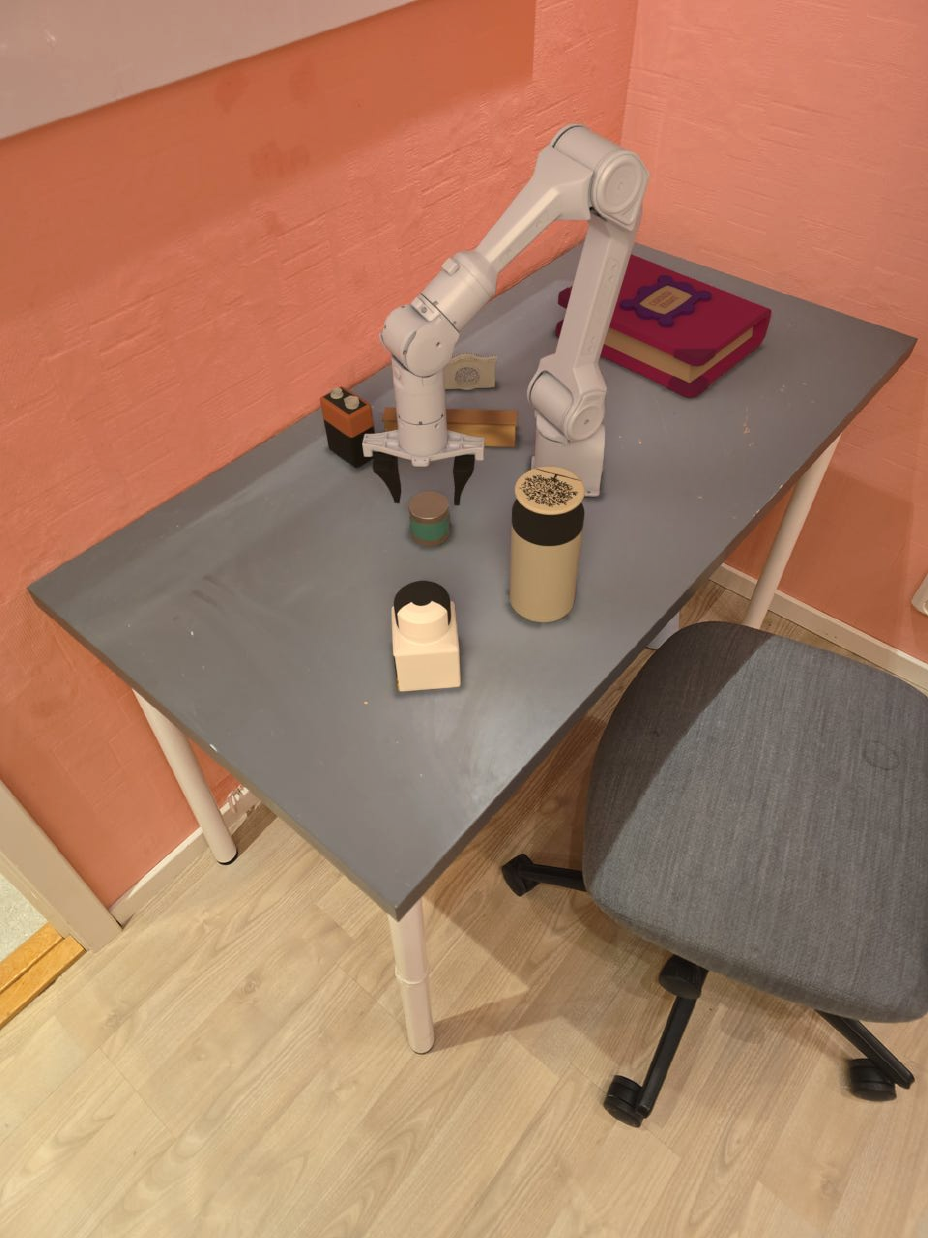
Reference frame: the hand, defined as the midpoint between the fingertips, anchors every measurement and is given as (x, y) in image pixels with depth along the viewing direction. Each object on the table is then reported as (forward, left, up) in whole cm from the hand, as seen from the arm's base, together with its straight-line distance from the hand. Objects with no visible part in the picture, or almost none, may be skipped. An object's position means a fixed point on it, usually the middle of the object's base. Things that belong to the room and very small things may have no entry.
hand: (427, 498), depth 107 cm
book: (-33, -48, -6) cm, 59 cm away
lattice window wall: (-1, -33, -6) cm, 34 cm away
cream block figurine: (-2, +22, -6) cm, 23 cm away
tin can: (0, 0, -6) cm, 6 cm away
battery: (+13, -16, -6) cm, 22 cm away
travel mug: (-15, +11, -6) cm, 20 cm away
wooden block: (-1, -20, -6) cm, 21 cm away
